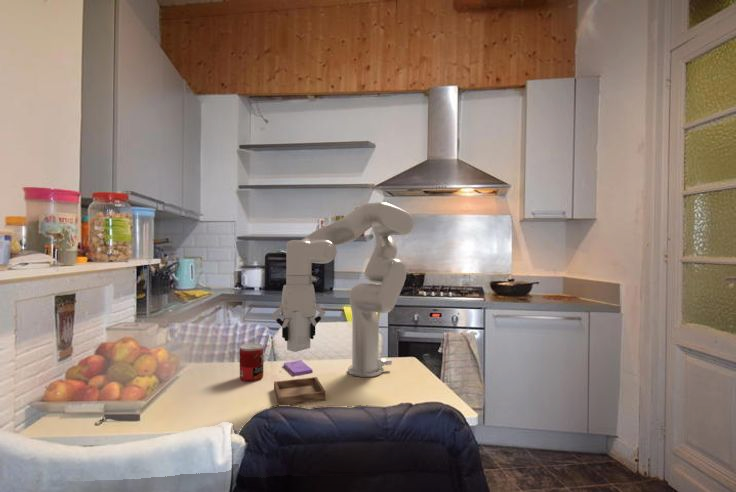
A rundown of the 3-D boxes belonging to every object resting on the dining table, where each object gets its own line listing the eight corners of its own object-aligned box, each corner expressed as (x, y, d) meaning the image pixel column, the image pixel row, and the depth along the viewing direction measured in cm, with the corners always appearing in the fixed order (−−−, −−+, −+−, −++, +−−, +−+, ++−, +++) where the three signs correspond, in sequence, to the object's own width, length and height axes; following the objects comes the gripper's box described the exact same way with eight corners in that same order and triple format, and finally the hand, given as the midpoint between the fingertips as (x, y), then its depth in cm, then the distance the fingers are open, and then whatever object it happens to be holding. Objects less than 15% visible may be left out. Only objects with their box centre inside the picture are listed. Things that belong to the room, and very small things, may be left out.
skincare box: (301, 346, 125) (301, 307, 125) (311, 348, 122) (311, 309, 122) (285, 350, 121) (286, 310, 120) (295, 352, 118) (295, 311, 118)
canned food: (257, 382, 132) (257, 349, 132) (235, 381, 133) (235, 348, 133) (267, 375, 139) (267, 343, 139) (246, 373, 141) (246, 342, 141)
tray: (316, 384, 130) (316, 376, 130) (325, 400, 117) (325, 391, 117) (274, 389, 126) (274, 381, 126) (278, 406, 113) (278, 397, 113)
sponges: (301, 364, 153) (301, 359, 153) (313, 374, 142) (313, 368, 142) (283, 367, 150) (283, 362, 150) (293, 377, 139) (294, 371, 139)
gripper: (324, 278, 128) (324, 334, 128) (268, 280, 122) (268, 338, 122) (329, 281, 120) (329, 339, 121) (270, 282, 115) (270, 344, 115)
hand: (298, 338), depth 121 cm, fingers closed on skincare box, 7 cm apart
